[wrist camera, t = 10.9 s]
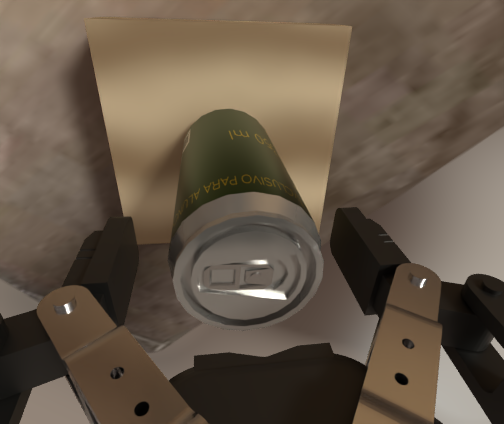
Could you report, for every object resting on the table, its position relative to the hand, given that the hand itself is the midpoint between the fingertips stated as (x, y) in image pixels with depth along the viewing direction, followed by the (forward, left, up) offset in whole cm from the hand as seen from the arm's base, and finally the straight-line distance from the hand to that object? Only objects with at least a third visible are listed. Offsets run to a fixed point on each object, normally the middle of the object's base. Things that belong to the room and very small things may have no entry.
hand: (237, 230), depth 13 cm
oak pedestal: (0, 0, -13) cm, 13 cm away
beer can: (0, 0, -9) cm, 9 cm away
